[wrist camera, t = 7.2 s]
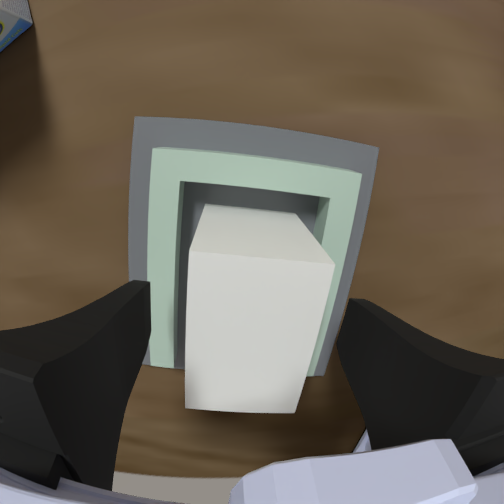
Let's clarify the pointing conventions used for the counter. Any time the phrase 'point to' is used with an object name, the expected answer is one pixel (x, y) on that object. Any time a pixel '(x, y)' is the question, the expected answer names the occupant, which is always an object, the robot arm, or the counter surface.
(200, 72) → the counter surface
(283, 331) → the block
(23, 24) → the medicine box
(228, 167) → the frame
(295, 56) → the counter surface
